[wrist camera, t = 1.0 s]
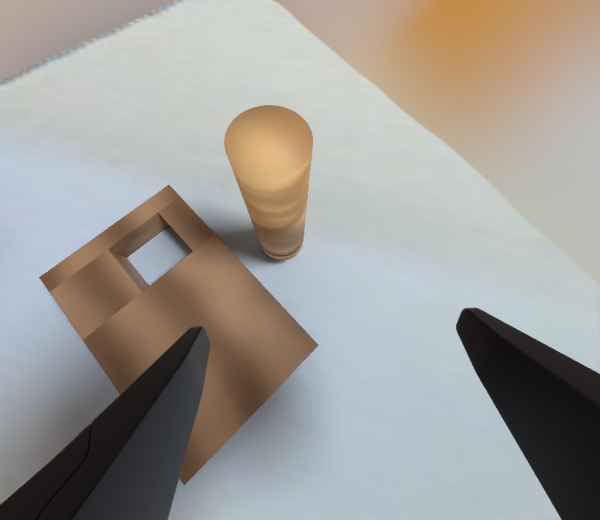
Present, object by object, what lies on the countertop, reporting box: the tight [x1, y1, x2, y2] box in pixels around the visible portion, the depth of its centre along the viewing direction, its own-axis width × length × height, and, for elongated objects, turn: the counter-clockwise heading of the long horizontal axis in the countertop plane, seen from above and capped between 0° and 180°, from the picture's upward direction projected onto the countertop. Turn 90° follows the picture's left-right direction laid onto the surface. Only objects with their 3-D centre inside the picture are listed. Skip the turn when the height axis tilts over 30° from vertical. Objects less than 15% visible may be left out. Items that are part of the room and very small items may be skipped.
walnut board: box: [39, 185, 318, 485], centre depth 21 cm, size 13×20×2 cm, turn 44°
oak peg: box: [224, 105, 313, 260], centre depth 18 cm, size 4×4×14 cm
